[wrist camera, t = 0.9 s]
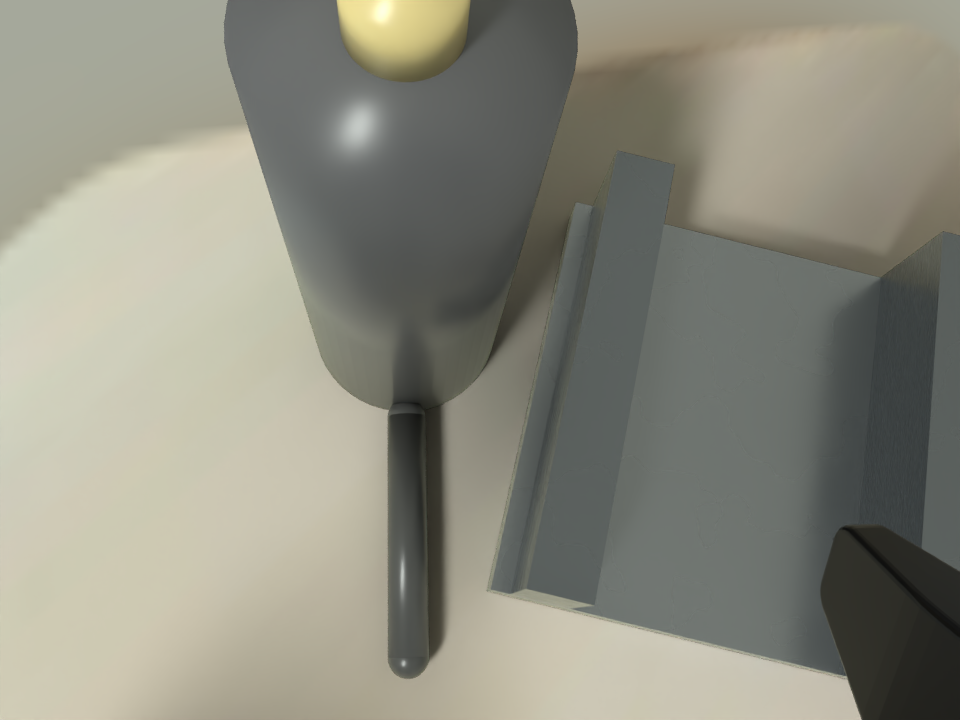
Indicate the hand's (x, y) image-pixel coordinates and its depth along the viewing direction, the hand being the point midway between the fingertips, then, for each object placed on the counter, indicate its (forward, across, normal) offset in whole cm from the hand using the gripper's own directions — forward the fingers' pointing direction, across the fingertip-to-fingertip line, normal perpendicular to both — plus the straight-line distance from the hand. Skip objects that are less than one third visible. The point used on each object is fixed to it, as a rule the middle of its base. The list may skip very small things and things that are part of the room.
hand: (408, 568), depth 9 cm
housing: (+13, -9, +7) cm, 17 cm away
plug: (+13, 0, +7) cm, 14 cm away
